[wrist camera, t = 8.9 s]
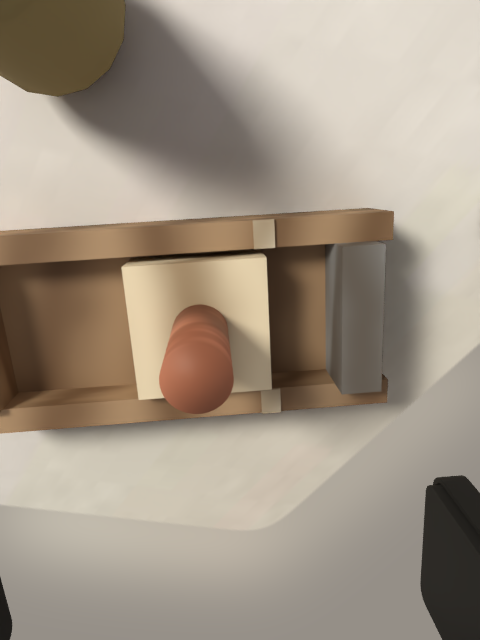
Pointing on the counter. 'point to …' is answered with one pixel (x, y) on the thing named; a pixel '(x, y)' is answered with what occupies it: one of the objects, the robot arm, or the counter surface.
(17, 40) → the squeeze bottle
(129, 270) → the carriage
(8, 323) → the base
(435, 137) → the counter surface
